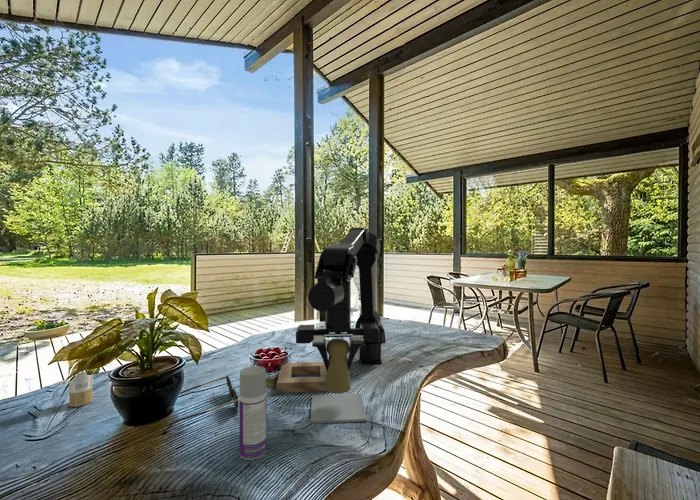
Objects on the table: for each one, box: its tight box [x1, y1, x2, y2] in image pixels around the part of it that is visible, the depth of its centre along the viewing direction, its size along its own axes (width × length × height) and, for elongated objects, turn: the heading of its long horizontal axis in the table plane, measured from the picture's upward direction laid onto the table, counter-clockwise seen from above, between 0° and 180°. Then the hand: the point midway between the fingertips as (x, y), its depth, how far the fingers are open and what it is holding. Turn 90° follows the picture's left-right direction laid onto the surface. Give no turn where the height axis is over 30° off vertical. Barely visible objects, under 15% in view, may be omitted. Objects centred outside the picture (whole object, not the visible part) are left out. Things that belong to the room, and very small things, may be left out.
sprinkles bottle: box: [68, 366, 94, 408], centre depth 79 cm, size 5×5×14 cm
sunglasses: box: [163, 374, 239, 432], centre depth 76 cm, size 14×15×5 cm
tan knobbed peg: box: [325, 338, 352, 394], centre depth 77 cm, size 6×6×11 cm
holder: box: [275, 361, 327, 394], centre depth 92 cm, size 14×14×2 cm
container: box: [238, 365, 268, 461], centre depth 61 cm, size 5×5×15 cm
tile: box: [310, 392, 368, 424], centre depth 77 cm, size 12×12×1 cm
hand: (337, 370), depth 77 cm, fingers closed on tan knobbed peg, 4 cm apart
